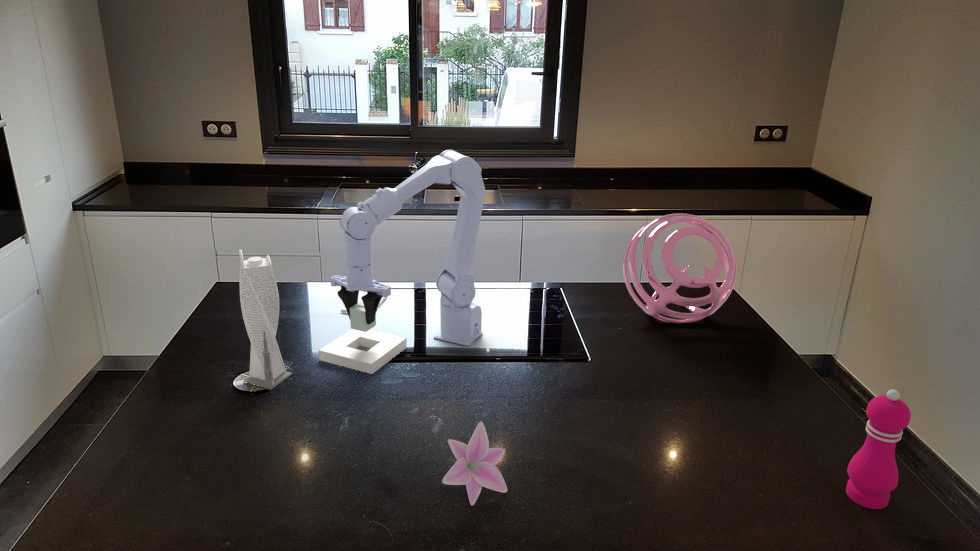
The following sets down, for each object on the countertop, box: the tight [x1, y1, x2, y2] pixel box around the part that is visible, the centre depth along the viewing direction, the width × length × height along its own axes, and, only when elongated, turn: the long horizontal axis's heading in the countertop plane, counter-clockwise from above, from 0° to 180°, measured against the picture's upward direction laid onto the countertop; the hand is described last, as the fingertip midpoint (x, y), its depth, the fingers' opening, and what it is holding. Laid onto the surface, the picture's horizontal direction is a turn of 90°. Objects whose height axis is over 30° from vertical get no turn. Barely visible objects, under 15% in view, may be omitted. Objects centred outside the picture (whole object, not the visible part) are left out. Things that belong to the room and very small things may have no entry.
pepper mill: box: [845, 388, 912, 510], centre depth 109 cm, size 7×7×20 cm
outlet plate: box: [318, 328, 408, 375], centre depth 156 cm, size 14×14×2 cm
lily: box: [441, 421, 508, 506], centre depth 112 cm, size 12×12×10 cm
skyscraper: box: [238, 249, 293, 391], centre depth 141 cm, size 8×8×28 cm
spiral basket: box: [622, 212, 738, 324], centre depth 176 cm, size 28×28×27 cm
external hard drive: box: [340, 291, 388, 313], centre depth 182 cm, size 2×8×12 cm
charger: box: [349, 302, 377, 332], centre depth 153 cm, size 4×4×5 cm
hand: (362, 320), depth 153 cm, fingers closed on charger, 4 cm apart
